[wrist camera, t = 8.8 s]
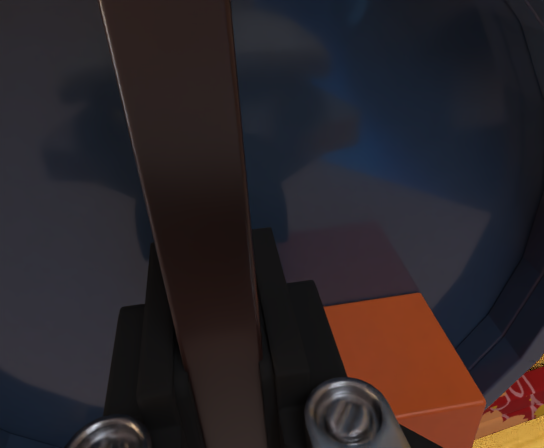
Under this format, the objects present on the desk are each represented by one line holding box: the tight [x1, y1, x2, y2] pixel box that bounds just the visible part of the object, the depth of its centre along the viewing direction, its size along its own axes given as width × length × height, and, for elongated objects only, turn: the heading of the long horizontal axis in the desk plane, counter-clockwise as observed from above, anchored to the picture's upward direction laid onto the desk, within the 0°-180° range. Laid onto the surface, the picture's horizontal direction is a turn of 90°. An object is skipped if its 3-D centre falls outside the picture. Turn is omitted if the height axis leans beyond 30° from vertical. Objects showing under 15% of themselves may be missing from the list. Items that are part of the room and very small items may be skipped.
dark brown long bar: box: [97, 0, 268, 448], centre depth 9 cm, size 20×1×1 cm, turn 4°
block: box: [324, 293, 486, 448], centre depth 12 cm, size 4×4×4 cm
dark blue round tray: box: [0, 0, 544, 448], centre depth 11 cm, size 17×17×2 cm
